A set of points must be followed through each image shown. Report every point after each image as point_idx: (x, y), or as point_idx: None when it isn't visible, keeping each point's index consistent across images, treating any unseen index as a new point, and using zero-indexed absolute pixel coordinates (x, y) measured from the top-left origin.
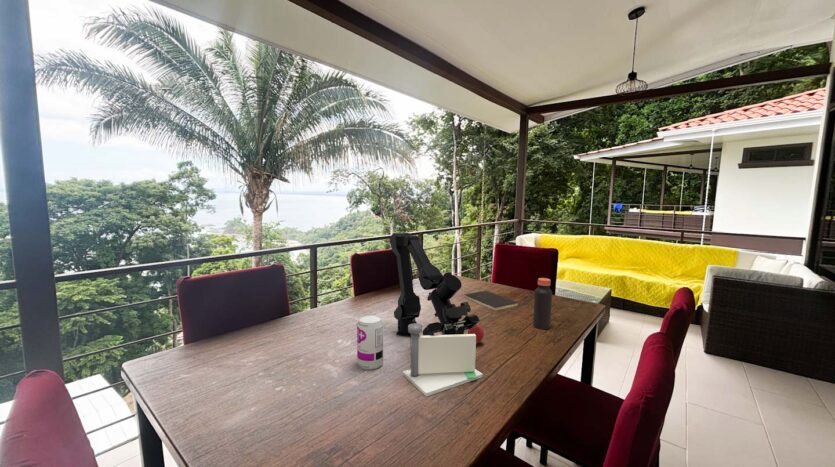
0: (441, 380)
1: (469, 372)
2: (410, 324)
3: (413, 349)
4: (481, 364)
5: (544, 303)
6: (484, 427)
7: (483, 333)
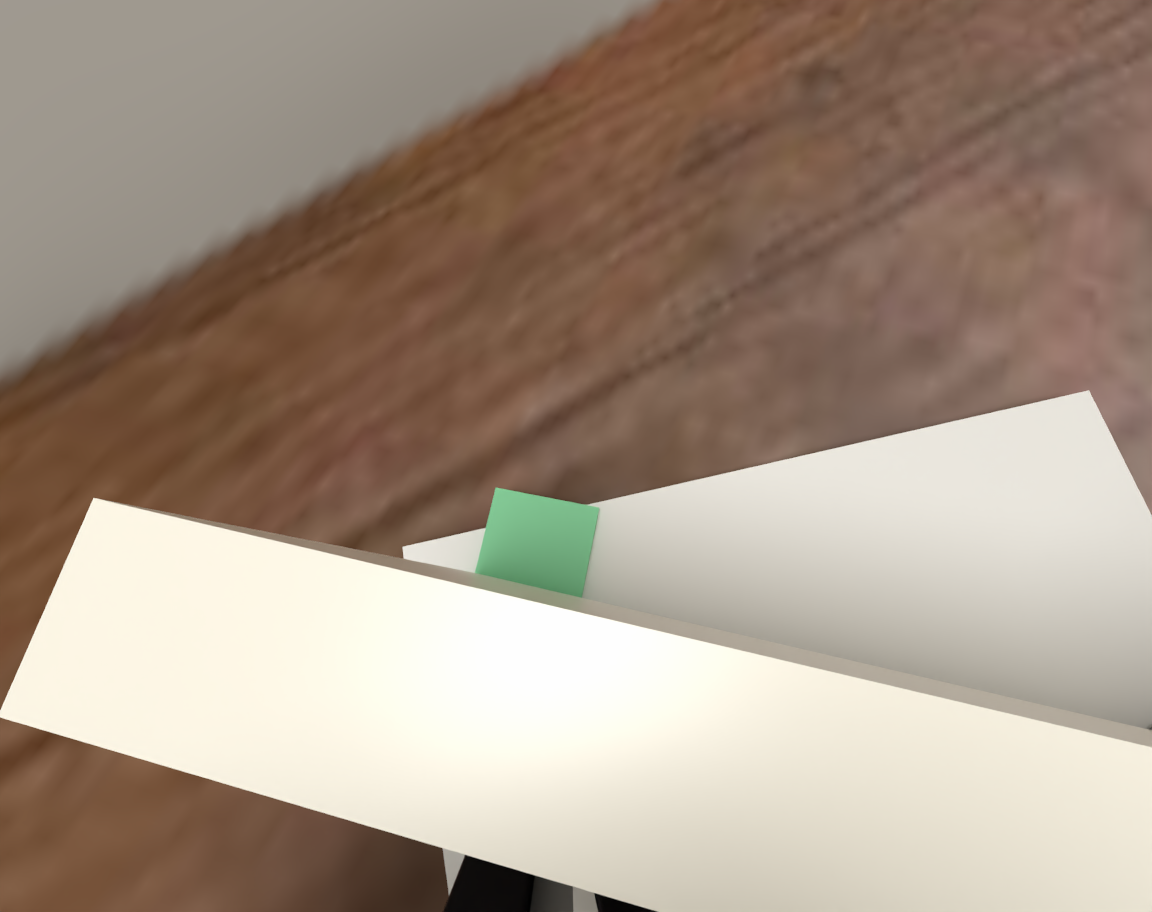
0: (879, 555)
1: None
2: None
3: None
4: (272, 804)
5: None
6: (723, 27)
7: None
